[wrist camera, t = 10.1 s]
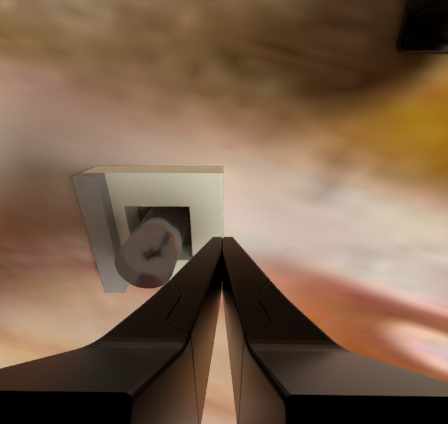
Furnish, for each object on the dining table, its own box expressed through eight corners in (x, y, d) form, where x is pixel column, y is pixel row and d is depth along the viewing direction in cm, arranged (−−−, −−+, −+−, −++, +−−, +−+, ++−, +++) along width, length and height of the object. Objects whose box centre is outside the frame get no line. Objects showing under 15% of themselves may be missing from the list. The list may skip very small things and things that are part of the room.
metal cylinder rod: (189, 238, 22) (176, 288, 16) (150, 238, 22) (120, 288, 16) (187, 201, 20) (170, 241, 14) (144, 201, 20) (108, 240, 14)
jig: (223, 166, 19) (223, 177, 16) (223, 267, 24) (223, 292, 20) (98, 165, 19) (70, 176, 16) (121, 267, 24) (104, 292, 20)
